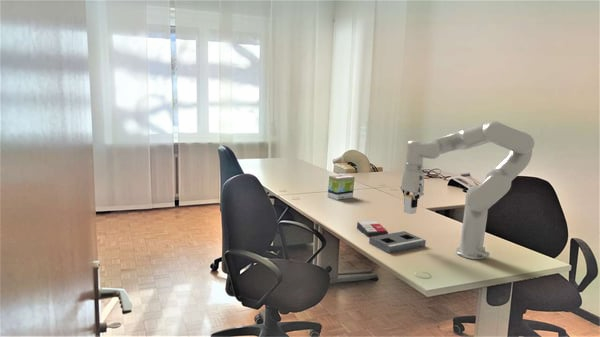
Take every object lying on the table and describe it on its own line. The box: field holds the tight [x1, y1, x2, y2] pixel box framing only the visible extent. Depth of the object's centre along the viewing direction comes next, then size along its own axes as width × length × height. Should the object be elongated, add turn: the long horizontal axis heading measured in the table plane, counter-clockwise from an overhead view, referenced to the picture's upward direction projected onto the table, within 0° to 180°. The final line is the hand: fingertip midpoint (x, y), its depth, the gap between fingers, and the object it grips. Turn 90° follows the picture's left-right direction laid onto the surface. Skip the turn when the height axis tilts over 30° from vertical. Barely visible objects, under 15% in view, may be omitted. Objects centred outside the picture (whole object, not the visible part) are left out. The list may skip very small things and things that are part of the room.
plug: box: [403, 194, 418, 215], centre depth 197 cm, size 4×4×8 cm
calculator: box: [356, 221, 389, 238], centre depth 215 cm, size 11×4×15 cm
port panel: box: [368, 230, 427, 255], centre depth 197 cm, size 14×22×4 cm, turn 120°
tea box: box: [327, 173, 355, 201], centre depth 283 cm, size 15×10×15 cm, turn 129°
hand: (410, 205), depth 197 cm, fingers closed on plug, 4 cm apart
